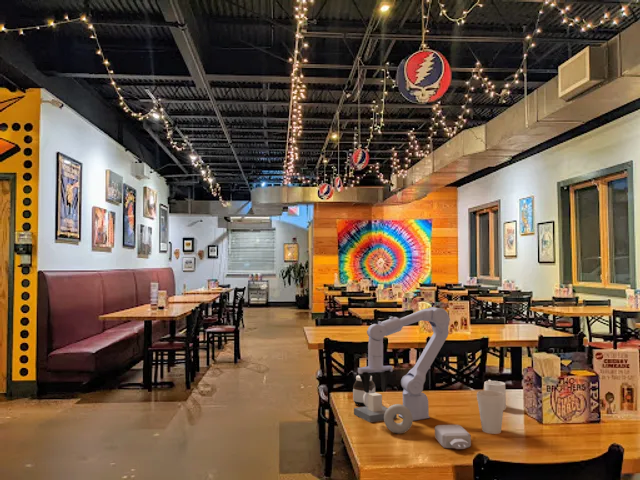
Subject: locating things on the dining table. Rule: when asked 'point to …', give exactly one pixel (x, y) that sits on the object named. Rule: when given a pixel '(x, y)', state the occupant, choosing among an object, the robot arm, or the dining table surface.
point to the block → (375, 402)
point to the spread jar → (362, 391)
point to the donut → (393, 425)
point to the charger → (452, 436)
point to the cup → (496, 388)
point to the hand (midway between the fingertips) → (375, 391)
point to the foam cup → (491, 410)
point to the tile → (371, 414)
